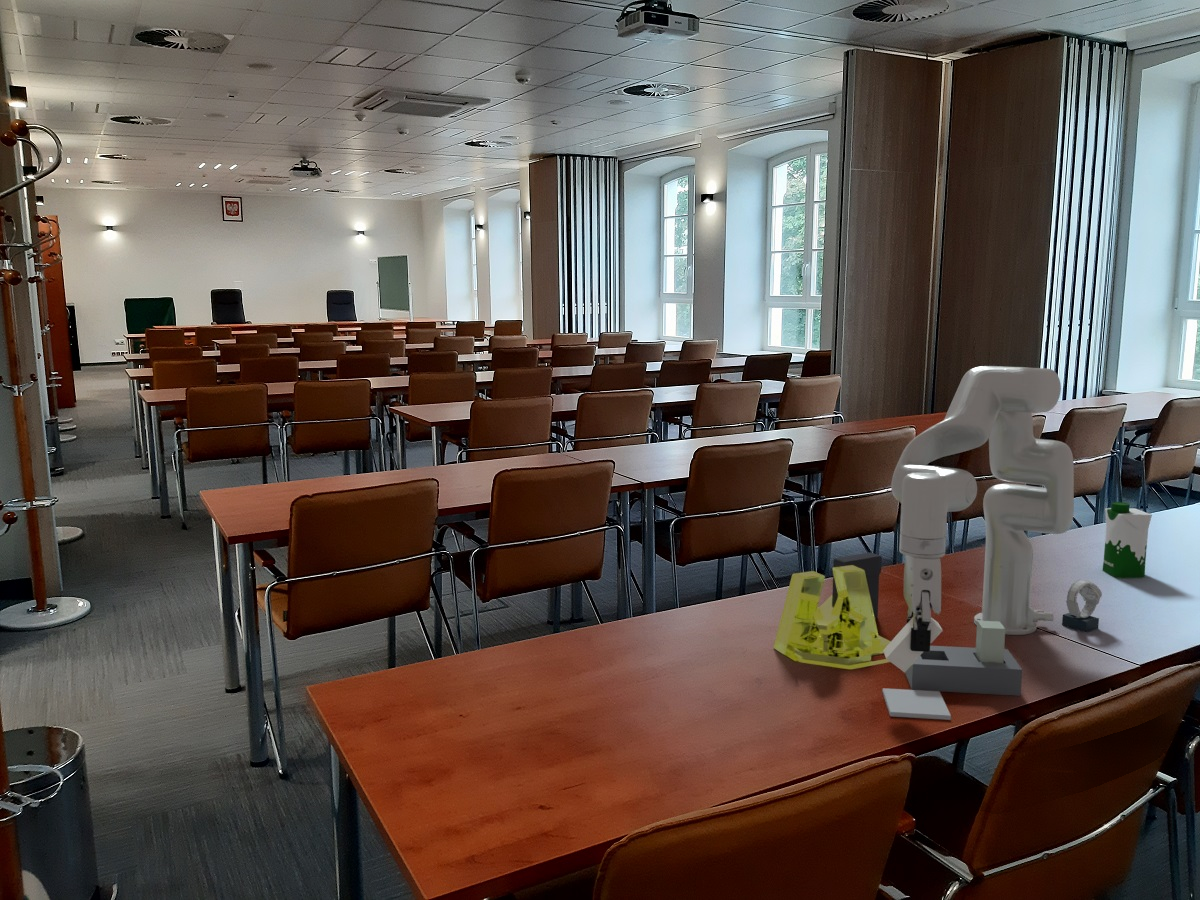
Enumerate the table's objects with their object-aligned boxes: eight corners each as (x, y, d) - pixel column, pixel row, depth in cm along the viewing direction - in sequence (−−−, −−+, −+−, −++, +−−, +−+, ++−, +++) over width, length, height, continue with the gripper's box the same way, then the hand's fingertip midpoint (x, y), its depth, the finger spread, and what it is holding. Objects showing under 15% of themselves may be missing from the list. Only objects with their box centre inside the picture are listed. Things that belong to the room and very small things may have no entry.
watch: (1103, 630, 198) (1107, 581, 197) (1080, 637, 194) (1084, 587, 193) (1079, 623, 203) (1082, 575, 201) (1056, 629, 199) (1059, 580, 198)
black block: (866, 614, 211) (868, 551, 208) (879, 619, 207) (882, 555, 204) (829, 622, 206) (830, 557, 203) (842, 627, 202) (844, 562, 200)
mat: (939, 695, 166) (939, 691, 166) (950, 719, 157) (950, 715, 157) (882, 692, 168) (882, 688, 168) (890, 716, 158) (890, 711, 158)
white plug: (901, 664, 163) (938, 622, 161) (904, 672, 160) (942, 630, 157) (883, 650, 164) (920, 608, 161) (886, 658, 160) (924, 616, 158)
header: (1006, 674, 176) (1007, 649, 175) (1020, 695, 166) (1022, 669, 165) (903, 668, 179) (904, 644, 178) (911, 689, 169) (912, 664, 168)
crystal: (767, 644, 193) (768, 573, 190) (864, 628, 202) (867, 559, 200) (819, 677, 176) (822, 598, 173) (923, 657, 185) (926, 582, 183)
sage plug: (996, 672, 173) (999, 621, 171) (1002, 680, 169) (1005, 628, 168) (974, 670, 174) (977, 620, 172) (979, 679, 170) (982, 627, 168)
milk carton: (1096, 574, 239) (1101, 499, 236) (1131, 574, 239) (1137, 499, 236) (1114, 584, 230) (1120, 507, 227) (1150, 584, 230) (1157, 506, 227)
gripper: (955, 558, 149) (949, 665, 152) (935, 533, 165) (931, 630, 168) (907, 556, 150) (902, 662, 153) (892, 532, 167) (888, 628, 169)
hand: (917, 644), depth 160 cm, fingers closed on white plug, 4 cm apart
